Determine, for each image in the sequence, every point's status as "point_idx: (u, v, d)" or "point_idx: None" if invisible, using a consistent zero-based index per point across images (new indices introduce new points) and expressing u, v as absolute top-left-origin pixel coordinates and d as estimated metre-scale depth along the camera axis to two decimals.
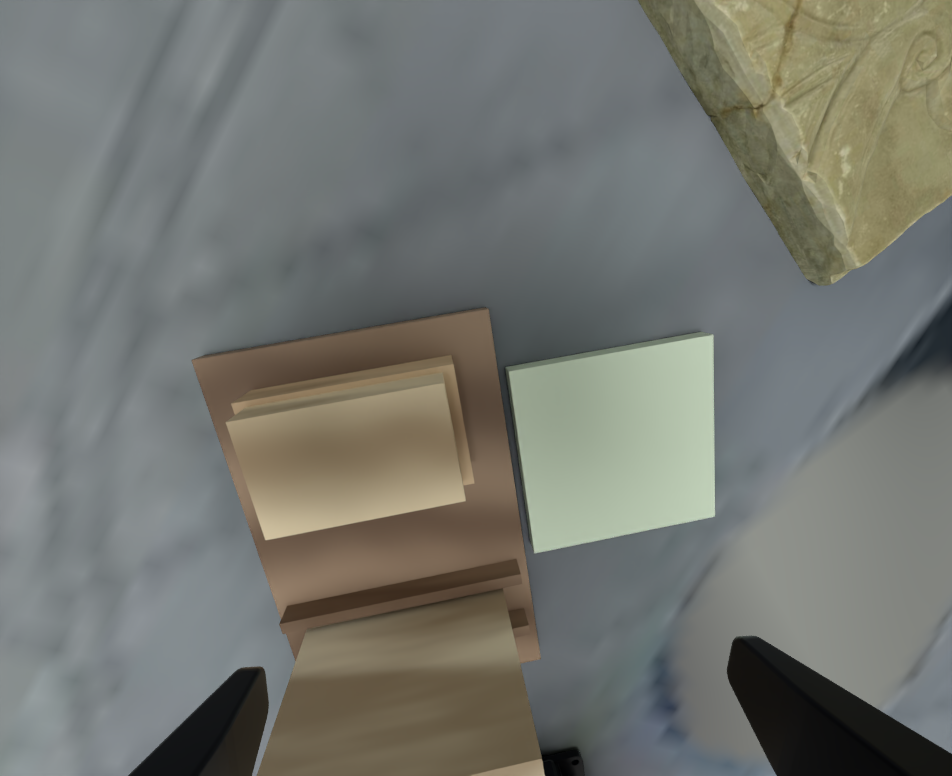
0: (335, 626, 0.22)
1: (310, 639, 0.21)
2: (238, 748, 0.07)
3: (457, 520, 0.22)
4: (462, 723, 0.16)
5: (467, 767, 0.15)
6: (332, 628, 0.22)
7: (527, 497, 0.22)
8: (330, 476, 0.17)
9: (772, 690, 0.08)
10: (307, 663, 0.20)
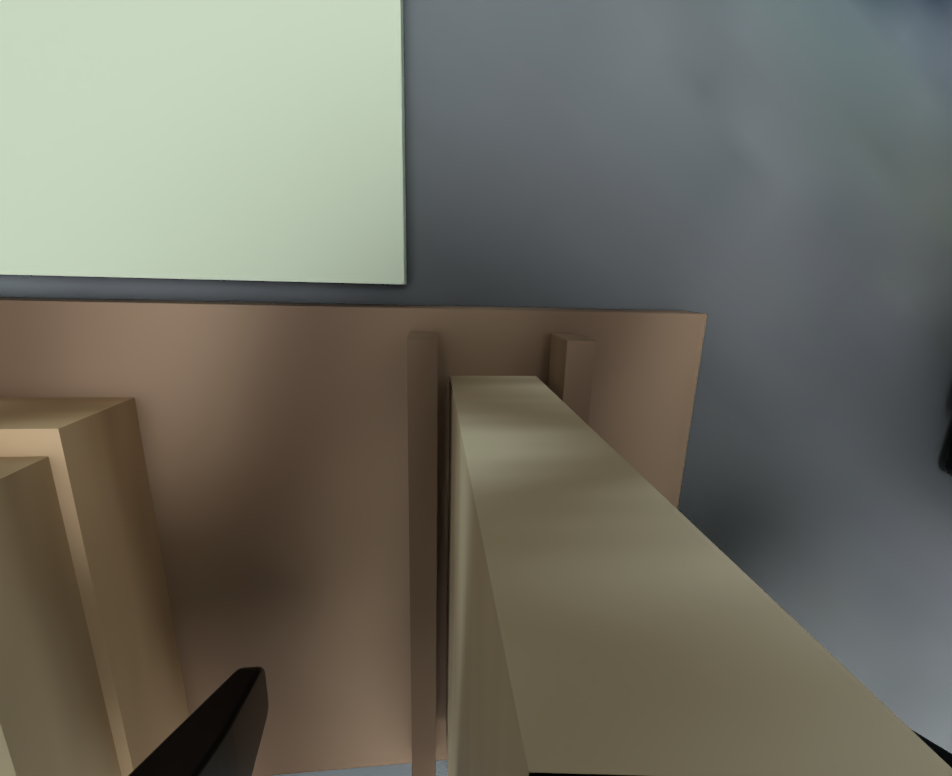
0: (447, 714, 0.11)
1: (448, 770, 0.11)
2: (238, 748, 0.07)
3: (281, 445, 0.10)
4: None
5: None
6: (447, 724, 0.11)
7: (241, 277, 0.09)
8: None
9: None
10: None
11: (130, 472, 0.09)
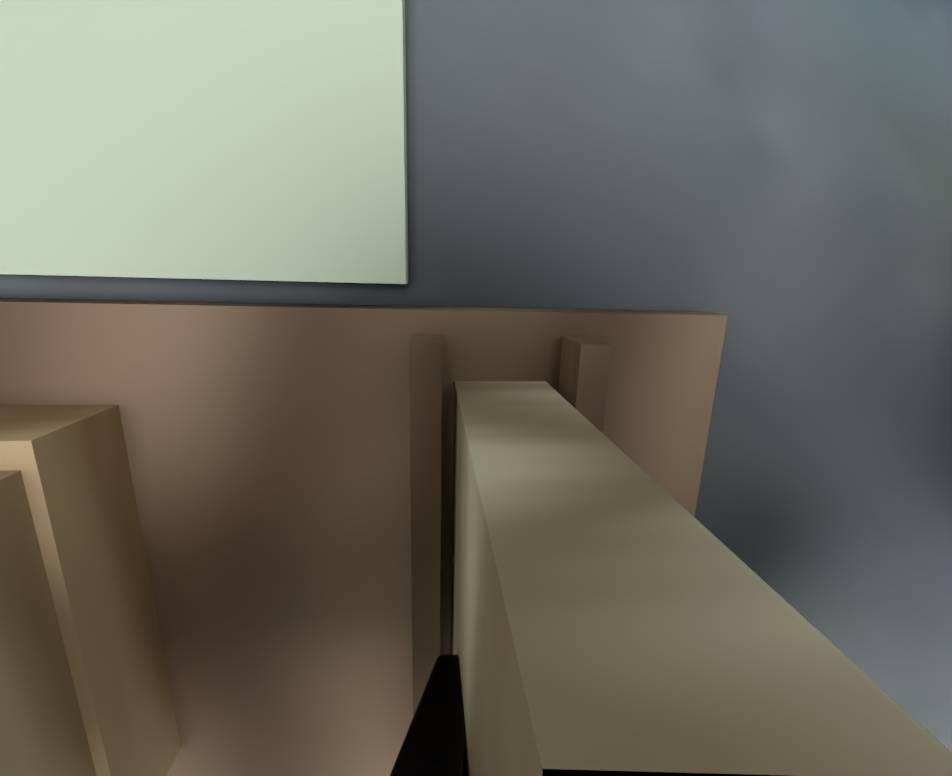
0: None
1: None
2: None
3: (274, 455, 0.09)
4: None
5: None
6: None
7: (231, 277, 0.08)
8: None
9: None
10: None
11: (113, 485, 0.09)
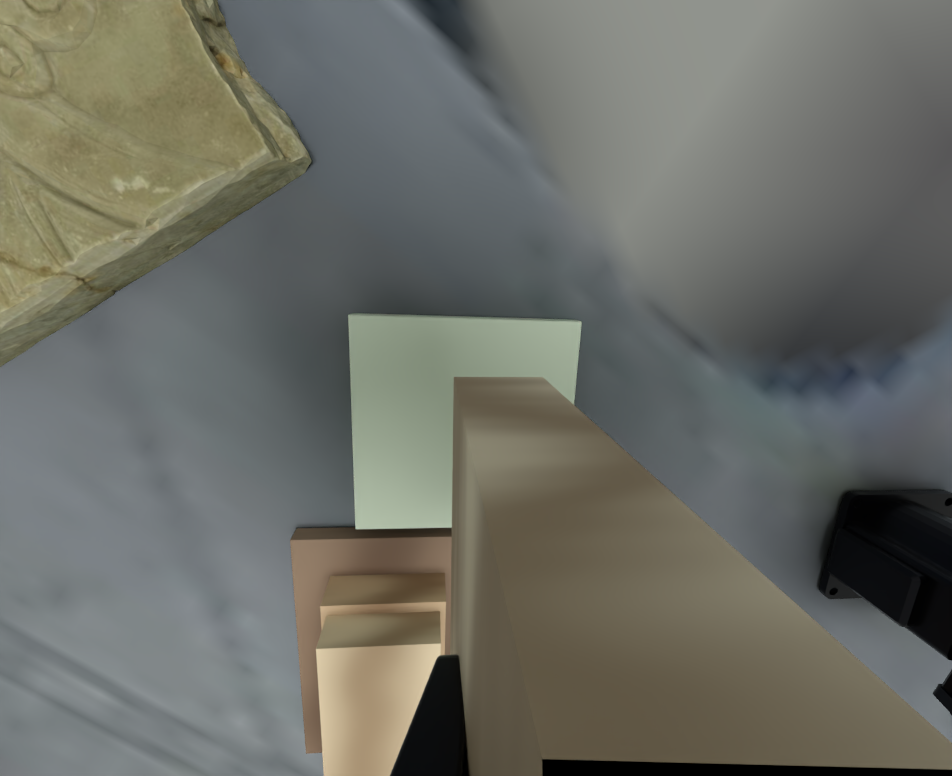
0: None
1: None
2: None
3: None
4: None
5: None
6: None
7: None
8: (389, 739, 0.19)
9: None
10: None
11: None
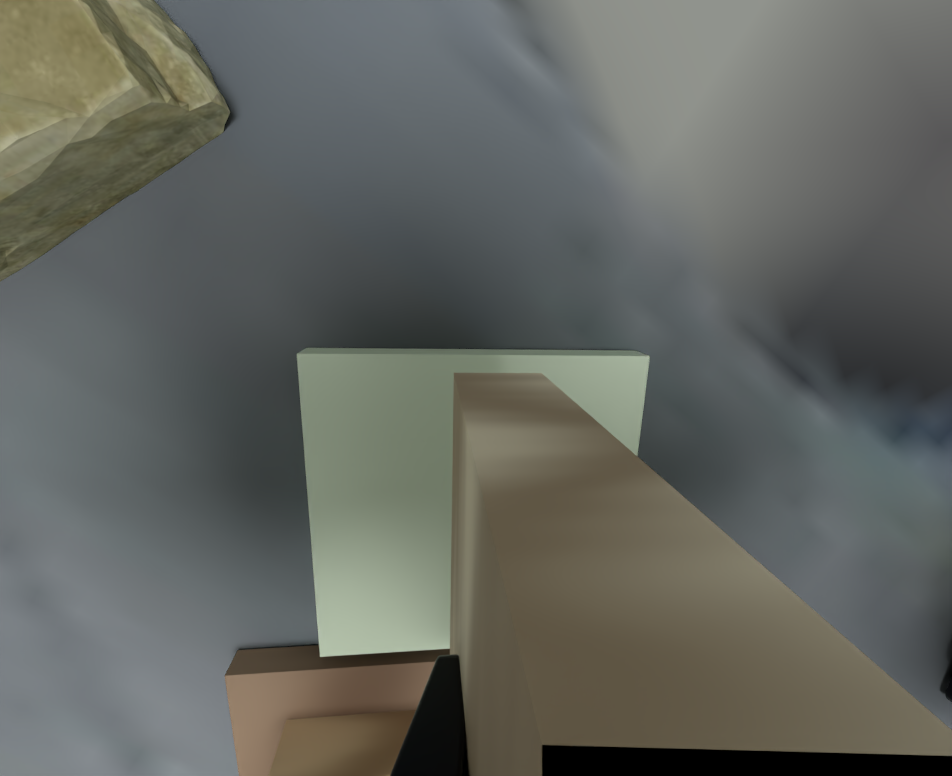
0: None
1: None
2: None
3: None
4: None
5: None
6: None
7: None
8: None
9: None
10: None
11: None
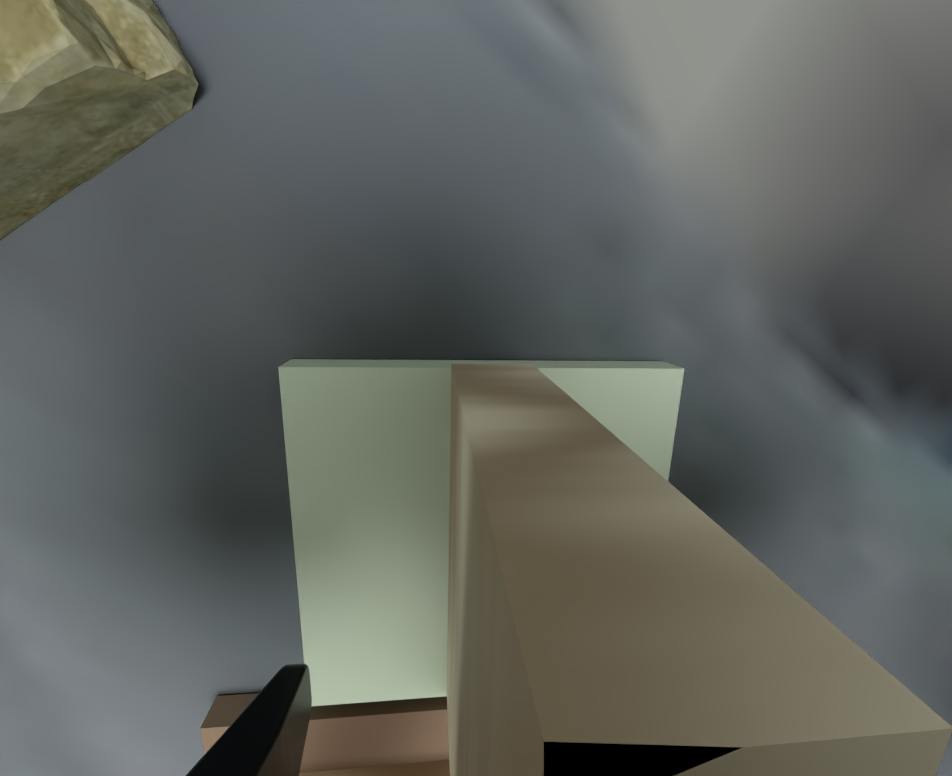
0: (448, 686, 0.12)
1: None
2: (289, 744, 0.07)
3: None
4: (483, 771, 0.04)
5: None
6: (449, 694, 0.12)
7: None
8: None
9: None
10: None
11: None
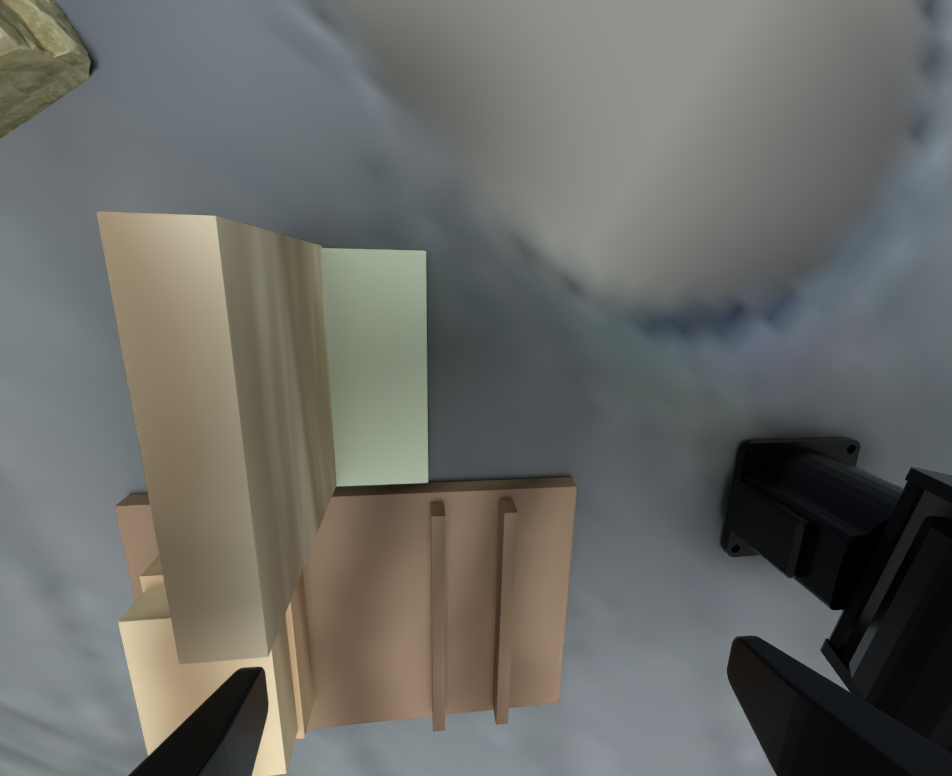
0: None
1: None
2: (238, 748, 0.07)
3: (367, 557, 0.20)
4: None
5: None
6: None
7: (352, 484, 0.19)
8: None
9: (772, 690, 0.08)
10: None
11: None
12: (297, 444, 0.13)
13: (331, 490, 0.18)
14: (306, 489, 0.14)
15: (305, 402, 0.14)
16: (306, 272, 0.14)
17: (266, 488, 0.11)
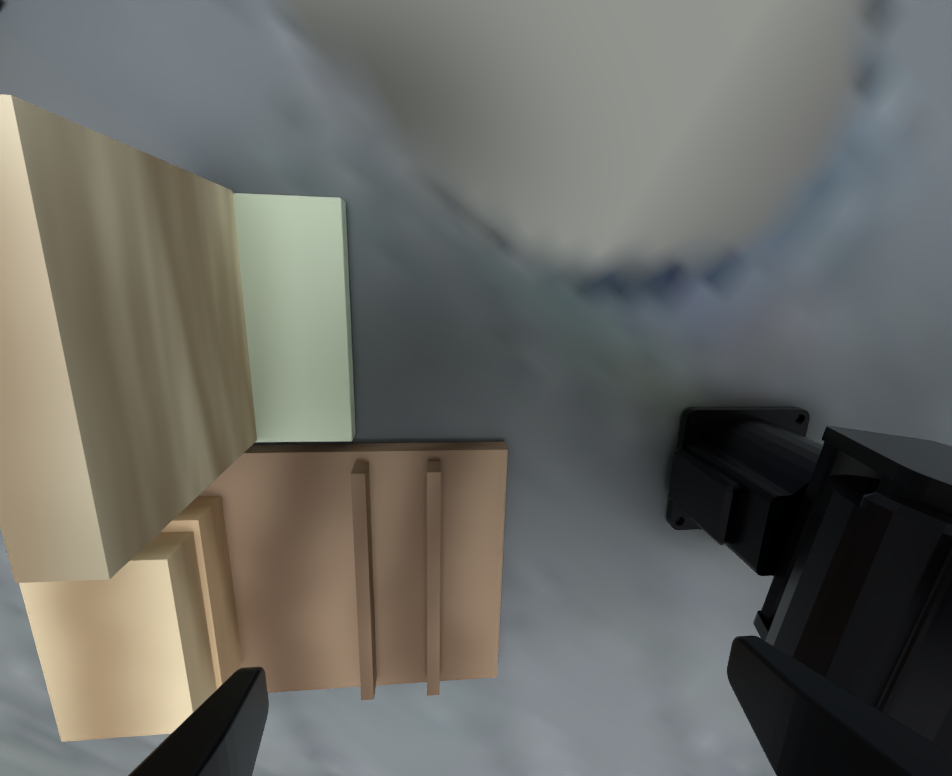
0: None
1: None
2: (238, 748, 0.07)
3: (292, 517, 0.20)
4: None
5: None
6: None
7: (273, 440, 0.19)
8: (126, 673, 0.17)
9: (772, 690, 0.08)
10: None
11: (220, 532, 0.19)
12: (176, 377, 0.13)
13: (246, 443, 0.18)
14: (194, 428, 0.14)
15: (195, 339, 0.14)
16: (201, 208, 0.14)
17: (111, 405, 0.10)
